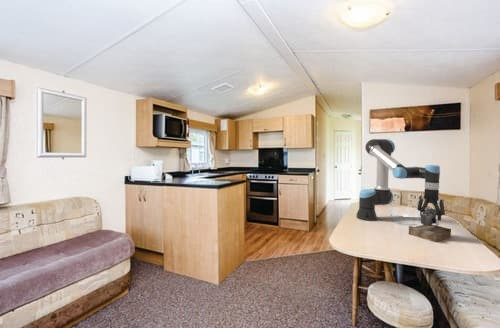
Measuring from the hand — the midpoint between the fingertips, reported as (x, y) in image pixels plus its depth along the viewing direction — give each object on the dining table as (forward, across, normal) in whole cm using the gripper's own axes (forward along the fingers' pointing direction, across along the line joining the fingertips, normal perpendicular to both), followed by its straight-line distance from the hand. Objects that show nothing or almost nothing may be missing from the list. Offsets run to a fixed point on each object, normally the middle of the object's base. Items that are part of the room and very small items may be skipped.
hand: (430, 223), depth 162 cm
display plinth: (+8, 0, 0) cm, 8 cm away
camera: (+1, 0, 0) cm, 1 cm away
